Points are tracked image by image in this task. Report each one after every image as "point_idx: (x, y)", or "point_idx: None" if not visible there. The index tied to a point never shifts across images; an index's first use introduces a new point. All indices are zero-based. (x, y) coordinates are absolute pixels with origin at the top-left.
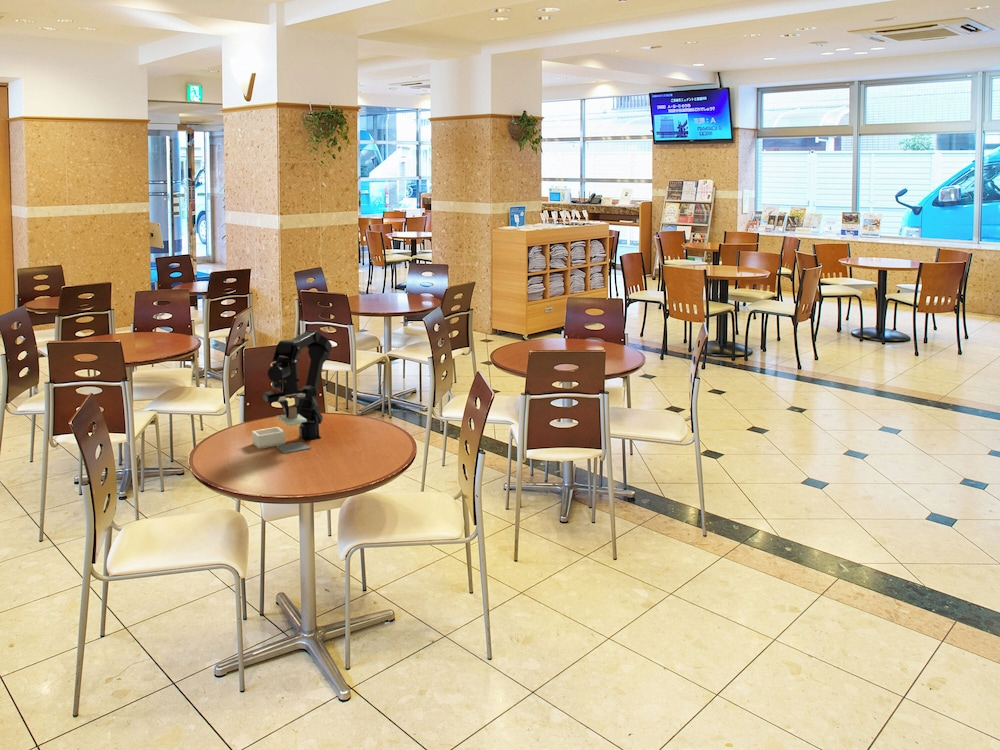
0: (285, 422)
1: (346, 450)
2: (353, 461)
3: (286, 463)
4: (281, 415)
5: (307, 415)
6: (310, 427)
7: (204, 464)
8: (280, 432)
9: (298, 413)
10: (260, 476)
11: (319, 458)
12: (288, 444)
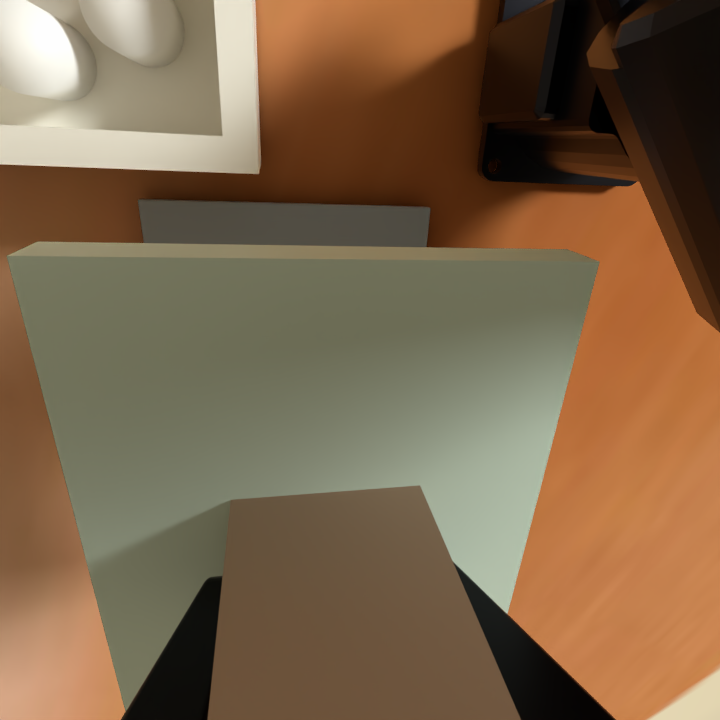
0: (131, 700)
1: (578, 519)
2: None
3: None
4: (147, 325)
5: (715, 301)
6: (627, 177)
7: None
8: (192, 170)
9: (670, 129)
10: None
11: None
12: (279, 224)
